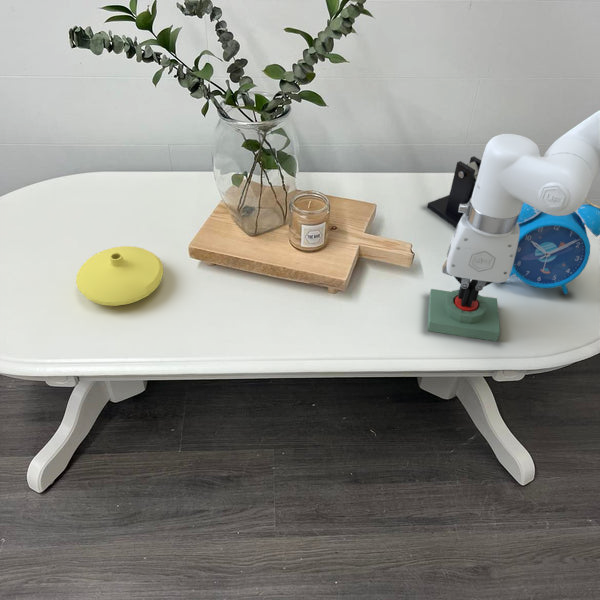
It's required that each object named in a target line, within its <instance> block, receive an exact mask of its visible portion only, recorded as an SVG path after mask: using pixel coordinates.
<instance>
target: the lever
mask: <svg viewBox="0 0 600 600" xmlns="http://www.w3.org/2000/svg"><path fill="white" fill-rule="evenodd" d="M466 165H468V166H469V167H471V168H473V169H474V170H475V174H474V178H473V182H474V183H476V180H477V176H478V172H479V168H478V166H477V164H476V163H475V161H474V162H472V163H470V162H468V163H467V164H466Z"/></svg>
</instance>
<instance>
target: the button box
mask: <svg viewBox="0 0 600 600" xmlns="http://www.w3.org/2000/svg"><path fill="white" fill-rule="evenodd" d="M458 293H459V289H456V290H452V291H448V290H442V289H436V288H435V289H434V288H430V291H429V295H428V310H427V311H428V312H427V332H433V333H440V334H446V335H451V336H452V335H453V336H458V337H465V338H471V339H479V340H485V341H490V342H491V341H492V342H498V339H499V337H500V334H501V329H500V318H499V316H500V315H499V305H498V298H497V297H492V296H491V297H490V296H484V295H480V294H479V293H478V296H477V299H476V300H477V301H478V307H477V310H476V311H472V312H468V311H463V310H461V309H459V308H457V307H456V306H455V304H454V302H455V299H456V297H457V296H458Z"/></svg>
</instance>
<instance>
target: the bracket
mask: <svg viewBox="0 0 600 600" xmlns="http://www.w3.org/2000/svg"><path fill="white" fill-rule="evenodd" d="M469 159H470V160H469V163H472V162H474V161H475V163H476V164H477V166H478V168H479V169H480V165H481V161H482V159H480V158H478V157H476V156H475V155H473V156H470V158H469ZM474 174H475V170H474V169H473V168H471V167H469V166H468V165H467V164H466V163H465V162H463V161H461V160H460V161H457V162H456V166H455V170H454V173H453V177H452V178H453V179H452V182H451V187H450V191H449V194H448V195H446V196H443V197H440V198H437V199H435V200H433V201H430V202H427V206H426V208H427V209H429V210H430V211H431V212H433V213H434V214H435V215H437V216H438V217H440V218H441V219H443V220H444V221H445V222H447V223H448V224H450V225H451V226H453V227H454V228H455V229H456V227H457V225H458V223H459V221H460V219H461V217H462V216H463V213H461V212H458V211H459V205H460V204H467V203H468V202H470V198H472V194H473V190H474V187H475V183H474V182H473V178H474Z"/></svg>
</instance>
